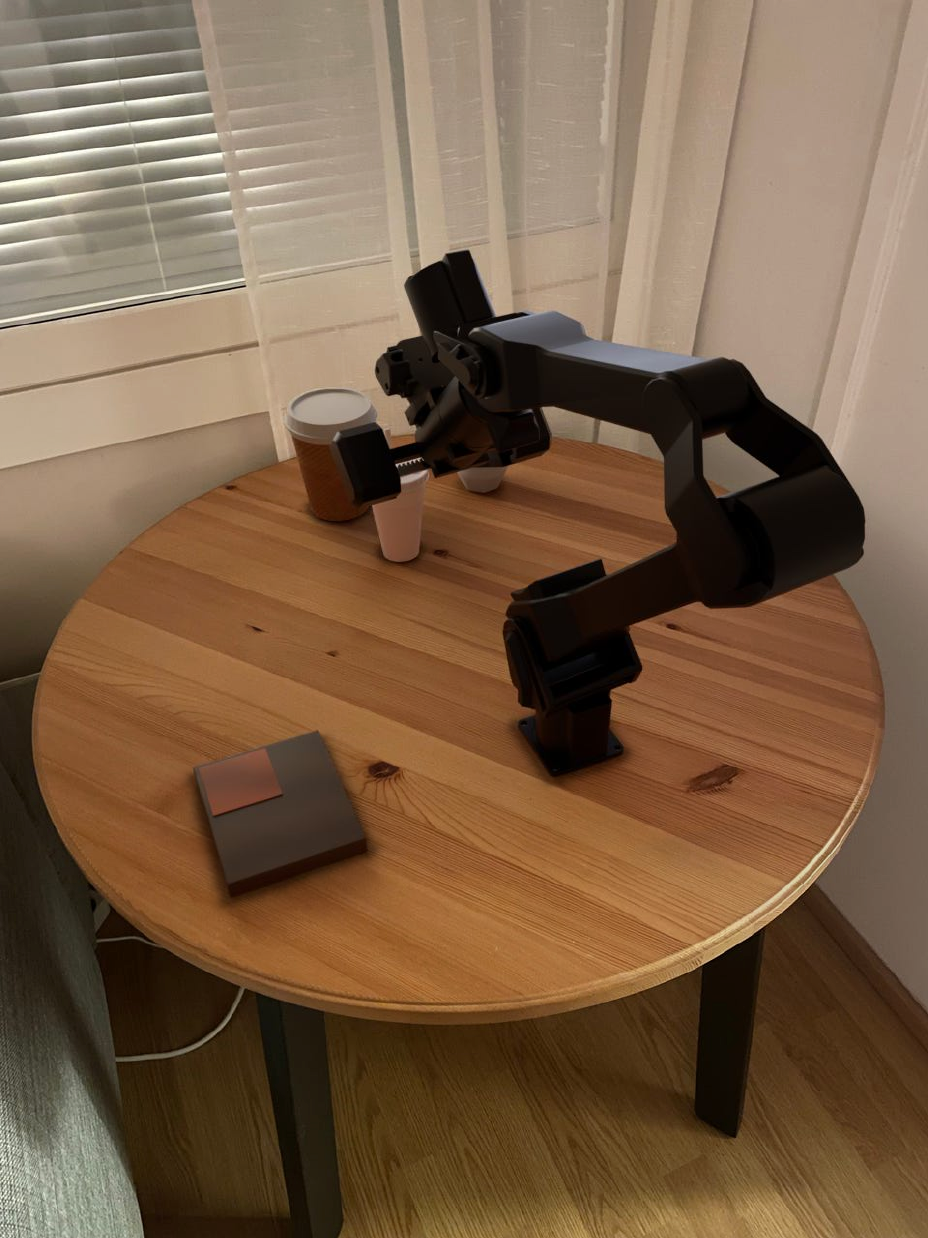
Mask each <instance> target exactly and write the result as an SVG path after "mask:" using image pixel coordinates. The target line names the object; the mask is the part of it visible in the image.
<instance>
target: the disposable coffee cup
mask: <svg viewBox="0 0 928 1238" xmlns="http://www.w3.org/2000/svg"><path fill="white" fill-rule="evenodd" d="M377 419H378V412H377V409H376V407H375V406H374V405H373V403H372V400H371V398H370V396H368V395H367V394H366V393H365V392H363V391H361V390H358V389H355V388H351V387H343V386H327V387H319V388H314V389H310V390H307V391H304V392H302V393H301V392H300V393H299V394H298V395H296V396H294V397H293V398H292V399H291V400H290V401H289V402H288V404H287V407H286V413H285V414H284V418H283V423H284V426H285V428H286V429H287V431H288V433H289V434H290V436H291V440H292V443H293V447H294V451H295V455H296V458H297V462H298V466H299V470H300V473H301V478H302V481H303V483H304V487H305V492H306V494H307V498H308V502H309V506H310V510H311V512H312V514H313V515H315V516H316V517H317V518H319V519H321V520H325V521H331V522H342V521H348V520H352V519H356V518H358V517H359V516H361V515H363V514H364V513H365V512H366V511H368V509H369V507H370V506H367V507H364V508H361V509H358V508H356V507H354V506H352V505H350V503H349V500H348V497H347V495H346V492H345V489H344V486H343V484H342V481H341V478H340V476H339V473H338V470H337V467H336V465H335V462H334V459H333V457H332V454H331V451H330V448H329V446H330V444H331V442H332V440H333V438H334V437H335V435H336V433H337V432H338V431H342V430H345V429H349V428H353V427H357V426H361V425H365V424H369V423H373V422H376V423H377Z"/></svg>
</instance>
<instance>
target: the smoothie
mask: <svg viewBox="0 0 928 1238" xmlns="http://www.w3.org/2000/svg"><path fill="white" fill-rule="evenodd" d="M383 431H384V435H385V438H386V440H387V443H388V446H389V448H390V449H392V448H393V447H392V434H391V433H392V432H391V427H389V426H388V427H387V426H385V427H384V430H383ZM419 459H420V458H417V459H414V460H410V461H407V462H409V463H410V464H411V461H414V463H415V460H418V461H419ZM422 460H423V459H422ZM407 462H403V463H405V464H406V463H407ZM403 463H399V464H400V465H401V466H402V464H403ZM399 464H396V466H397V468H398V465H399ZM400 478H401V493H400V494H399V495H398V496H397V498H396V499H392V500H389V501H386V502H382V503H379V504H375V505H372V506H371V507H372V511H373V515H374V521H375V524H376V529H377V534H378V538H379V542H380V547H381V551H382V554H383V557H384V558H385V559H387V560H389V561H392V562H397V563H402V562H409V561H411V560H413V559H415V558H416V557H417V556H419V553H420V545H421V535H422V534H421V533H422V523H423V514H424V513H423V512H424V502H425V500H424V499H425V493H426V491H425V490H426V484H427V482H428V480H429V479H430V472H429V469H428V470H425V471H421V472H418V473H414V474H410V475H407V476H403V477H400Z"/></svg>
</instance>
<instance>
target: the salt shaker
mask: <svg viewBox="0 0 928 1238" xmlns="http://www.w3.org/2000/svg"><path fill="white" fill-rule="evenodd" d="M507 470H508V466H506V467H493V468H491V467H487V468H470V469H466V470H463V471H460V472H456V474H457V475H458V477H459V478H460V480H461V482H462V484H463V485H464V486H465V488H466V489H467V491H469V492H474V493H475V492H476V493H481V494H485V493H488V492H490V491H493V490H496V489H498V488H499V486H500V484H501V483H502V479H503V477H504V476H505V474H506V472H507Z"/></svg>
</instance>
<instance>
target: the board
mask: <svg viewBox="0 0 928 1238" xmlns="http://www.w3.org/2000/svg"><path fill="white" fill-rule="evenodd" d="M192 770H193V774H194V777H195V782H196V786H197V788H198V791H199V794H200V799H201V802H202V805H203V808H204V812H205V816H206V819H207V822H208V824H209V829H210V832H211V836H212V839H213V842H214V846H215V850H216V852H217V856H218V859H219V863H220V866H221V869H222V874H223V876H224V880H225V883H226V887H227V890H228V894H229V897H230V898H234V897H237V896H240V895H243V894H245V893H249V892H251V891H254V890H258V889H260V888H263V887H266V886H270V885H272V884H276V883H278V882H282V881H284V880H286V879H290V878H293V877H295V876H299V875H302V874H304V873H308V872H310V871H313V870H316V869H319V868H322V867H325V866H327V865H331V864H333V863H337V862H339V861H342V860H345V859H349V858H351V857H354V856H357V855H360V854H363V853H366V852H368V843H367V836H366V834H365V832H364V829H363V828H362V825H361V823H360V820H359V819H358V816H357V813H356V812H355V810H354V807H353V805H352V803H351V801H350V799H349V796H348V793H347V791H346V789H345V787H344V785H343V783H342V780H341V778H340V776H339V773H338V772H337V769H336V767H335V764H334V763H333V760H332V759H331V756H330V753H329V751H328V749H327V748H326V745H325V743H324V740H323V738H322V736H321V734H320V731H319V730H317V729H316V730H313V731H309V732H306V733H302V734H299V735H297V736H296V735H295V736H293V737H289V738H286V739H283V740H279V741H276V742H273V743H269V744H265V745H262V746H259V747H255V748H252V749H249V750H246V751H242V752H238V753H236V754H232V755H229V756H224V757H223V758H218V759H216V760H213V761H209V762H205V763H201V764H198V765H196V766H193V767H192Z"/></svg>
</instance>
